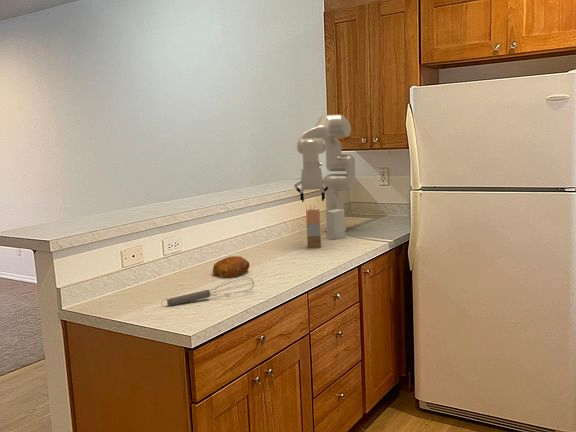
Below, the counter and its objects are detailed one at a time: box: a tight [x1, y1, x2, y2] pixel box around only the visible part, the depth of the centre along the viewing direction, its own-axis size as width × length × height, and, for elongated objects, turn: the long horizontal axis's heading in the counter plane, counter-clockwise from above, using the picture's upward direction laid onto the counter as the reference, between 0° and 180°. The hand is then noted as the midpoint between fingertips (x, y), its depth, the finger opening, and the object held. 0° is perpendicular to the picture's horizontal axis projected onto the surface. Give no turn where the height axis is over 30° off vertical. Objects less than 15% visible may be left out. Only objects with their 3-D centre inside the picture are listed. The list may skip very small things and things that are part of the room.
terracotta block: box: [305, 209, 321, 225], centre depth 279 cm, size 6×6×6 cm
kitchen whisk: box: [160, 276, 255, 307], centre depth 202 cm, size 6×34×6 cm, turn 115°
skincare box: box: [325, 209, 346, 241], centre depth 300 cm, size 8×6×15 cm
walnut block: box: [306, 235, 322, 249], centre depth 281 cm, size 6×6×6 cm
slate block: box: [306, 222, 321, 237], centre depth 280 cm, size 6×6×6 cm
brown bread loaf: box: [212, 255, 250, 279], centre depth 237 cm, size 14×16×8 cm
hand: (312, 201), depth 279 cm, fingers open, 9 cm apart
